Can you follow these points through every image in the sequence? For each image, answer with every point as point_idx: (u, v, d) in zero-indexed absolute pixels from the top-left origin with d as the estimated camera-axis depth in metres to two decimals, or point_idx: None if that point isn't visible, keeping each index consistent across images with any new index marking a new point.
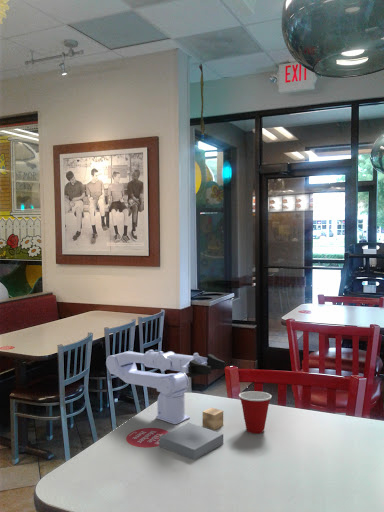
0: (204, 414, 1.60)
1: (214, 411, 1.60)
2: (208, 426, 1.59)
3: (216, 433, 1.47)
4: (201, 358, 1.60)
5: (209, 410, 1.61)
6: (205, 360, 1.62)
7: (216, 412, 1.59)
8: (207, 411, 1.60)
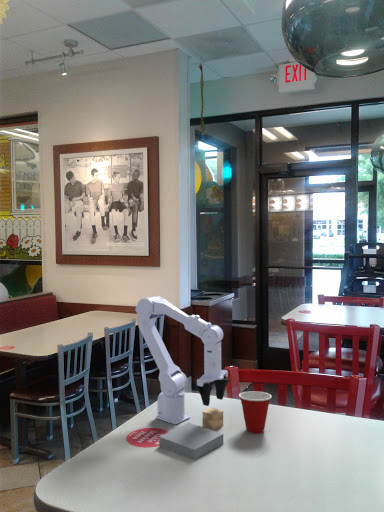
0: (204, 414, 1.60)
1: (214, 411, 1.60)
2: (208, 426, 1.59)
3: (216, 433, 1.47)
4: None
5: (209, 410, 1.61)
6: None
7: (216, 412, 1.59)
8: (207, 411, 1.60)
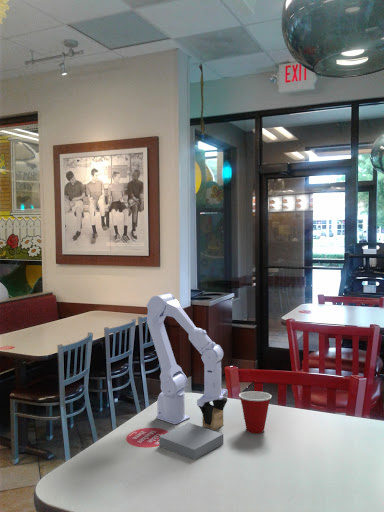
0: None
1: (214, 411, 1.60)
2: (208, 426, 1.59)
3: (216, 433, 1.47)
4: None
5: None
6: None
7: (216, 412, 1.59)
8: None
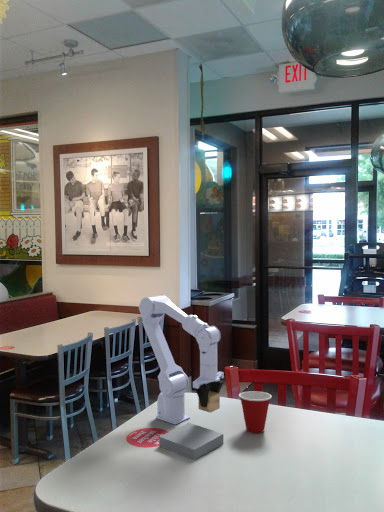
0: None
1: (210, 394, 1.57)
2: (204, 409, 1.55)
3: (216, 433, 1.47)
4: None
5: None
6: None
7: (212, 394, 1.56)
8: None
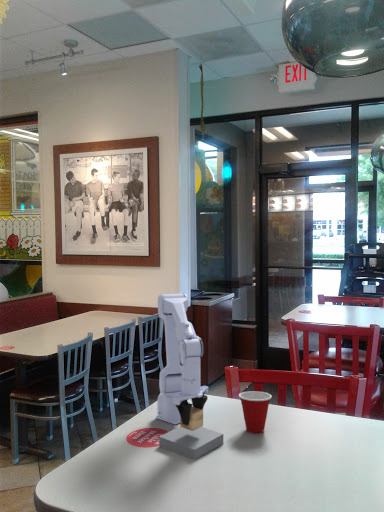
0: None
1: (193, 410, 1.45)
2: (186, 427, 1.44)
3: (216, 433, 1.47)
4: None
5: None
6: None
7: (195, 411, 1.44)
8: None
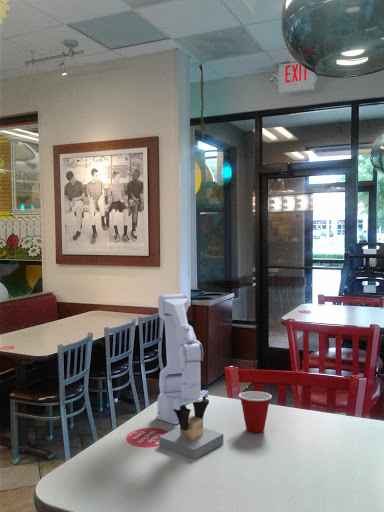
0: None
1: (193, 419, 1.45)
2: (186, 436, 1.44)
3: (216, 433, 1.47)
4: None
5: None
6: None
7: (195, 420, 1.44)
8: None
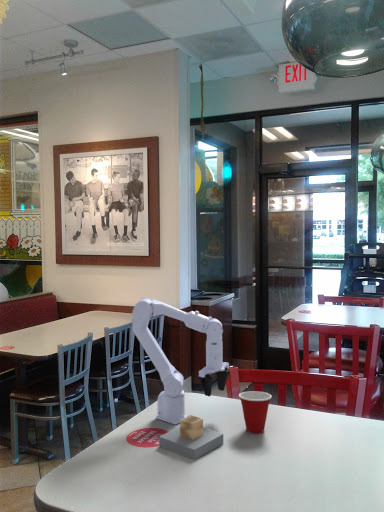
0: (182, 423, 1.45)
1: (193, 419, 1.45)
2: (186, 436, 1.44)
3: (216, 433, 1.47)
4: None
5: (187, 418, 1.46)
6: None
7: (195, 420, 1.44)
8: (185, 419, 1.45)
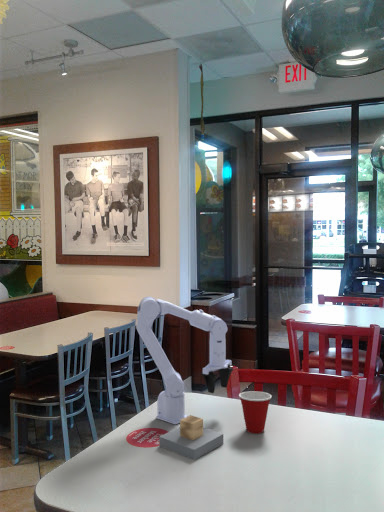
0: (182, 423, 1.45)
1: (193, 419, 1.45)
2: (186, 436, 1.44)
3: (216, 433, 1.47)
4: None
5: (187, 418, 1.46)
6: None
7: (195, 420, 1.44)
8: (185, 419, 1.45)
